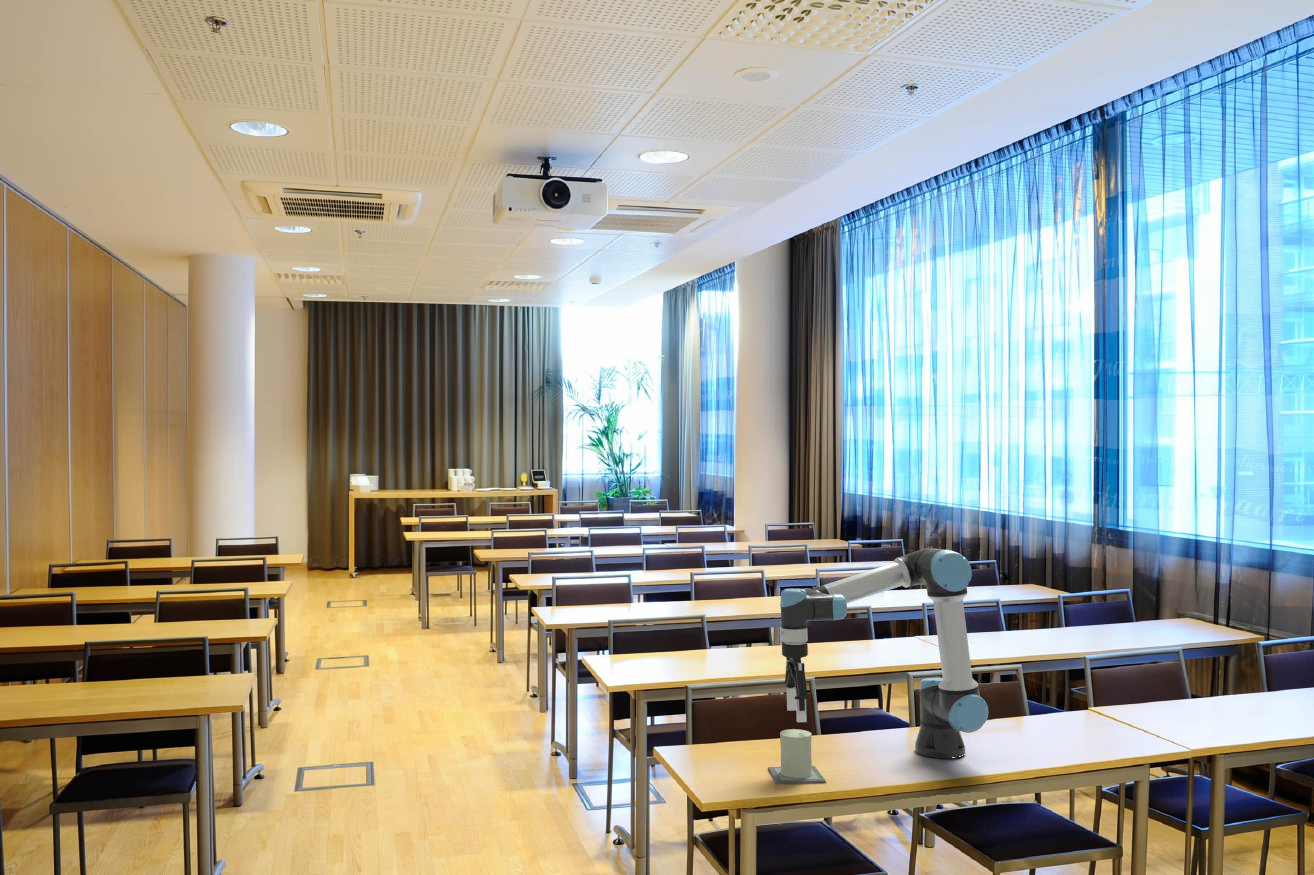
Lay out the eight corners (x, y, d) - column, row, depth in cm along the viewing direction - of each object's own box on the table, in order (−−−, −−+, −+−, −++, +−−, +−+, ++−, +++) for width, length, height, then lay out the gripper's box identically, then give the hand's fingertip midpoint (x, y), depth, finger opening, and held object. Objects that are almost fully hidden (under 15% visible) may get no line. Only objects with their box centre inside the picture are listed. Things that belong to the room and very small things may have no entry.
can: (796, 780, 267) (795, 737, 267) (773, 772, 274) (773, 730, 275) (819, 774, 272) (818, 732, 273) (796, 766, 279) (795, 725, 280)
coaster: (814, 768, 280) (814, 765, 280) (825, 782, 266) (825, 780, 266) (768, 769, 280) (768, 766, 280) (776, 784, 266) (776, 781, 266)
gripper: (774, 635, 287) (775, 706, 286) (790, 650, 262) (792, 727, 261) (798, 635, 287) (800, 705, 287) (817, 649, 263) (819, 726, 262)
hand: (796, 716), depth 274 cm, fingers open, 13 cm apart
